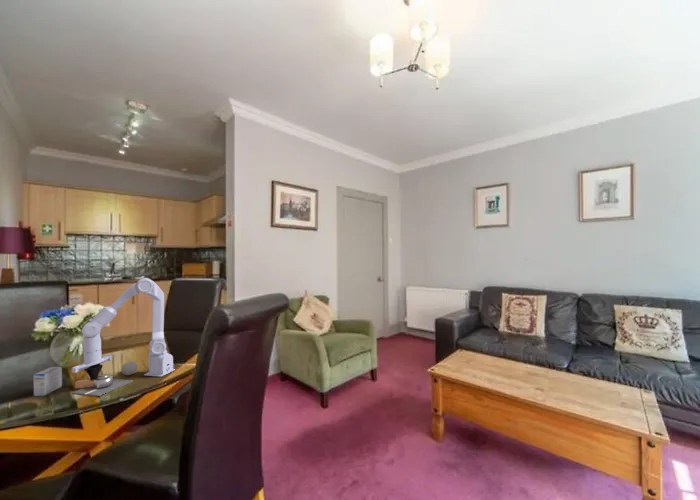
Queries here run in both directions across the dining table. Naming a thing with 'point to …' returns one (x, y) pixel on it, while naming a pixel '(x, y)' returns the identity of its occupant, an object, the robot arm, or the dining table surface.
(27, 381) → the dining table surface
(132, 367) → the lightbulb
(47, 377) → the medicine box
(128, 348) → the dining table surface
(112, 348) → the dining table surface
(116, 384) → the lock base
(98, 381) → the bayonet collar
